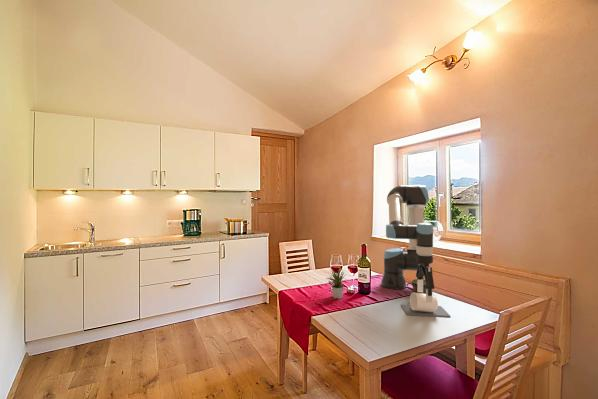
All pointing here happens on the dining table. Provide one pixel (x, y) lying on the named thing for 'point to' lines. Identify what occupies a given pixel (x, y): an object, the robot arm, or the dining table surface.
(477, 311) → the dining table surface
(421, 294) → the cup
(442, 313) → the mat
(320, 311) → the dining table surface
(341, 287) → the house plant
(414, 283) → the ceramic cup
